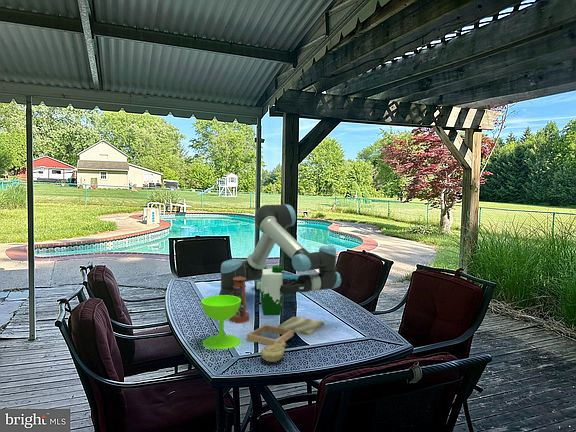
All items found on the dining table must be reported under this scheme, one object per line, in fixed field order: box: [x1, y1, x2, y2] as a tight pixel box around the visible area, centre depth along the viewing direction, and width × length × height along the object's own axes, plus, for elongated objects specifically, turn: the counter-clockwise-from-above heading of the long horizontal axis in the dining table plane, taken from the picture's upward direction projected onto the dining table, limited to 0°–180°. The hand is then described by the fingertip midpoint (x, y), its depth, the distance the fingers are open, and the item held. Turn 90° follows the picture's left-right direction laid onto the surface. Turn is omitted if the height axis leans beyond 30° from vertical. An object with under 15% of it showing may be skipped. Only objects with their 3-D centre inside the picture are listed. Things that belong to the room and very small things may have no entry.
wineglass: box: [200, 294, 242, 349], centre depth 160 cm, size 16×16×18 cm
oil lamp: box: [260, 341, 287, 363], centre depth 148 cm, size 11×14×5 cm
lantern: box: [229, 260, 250, 324], centre depth 189 cm, size 10×10×30 cm
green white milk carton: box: [260, 264, 283, 317], centre depth 165 cm, size 9×9×20 cm
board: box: [277, 316, 325, 336], centre depth 182 cm, size 16×16×1 cm
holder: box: [246, 323, 295, 346], centre depth 167 cm, size 14×14×2 cm
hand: (260, 288), depth 164 cm, fingers closed on green white milk carton, 7 cm apart
